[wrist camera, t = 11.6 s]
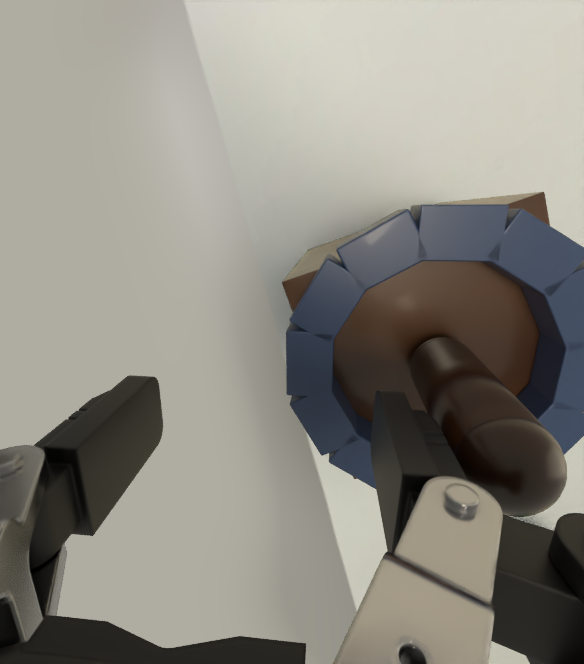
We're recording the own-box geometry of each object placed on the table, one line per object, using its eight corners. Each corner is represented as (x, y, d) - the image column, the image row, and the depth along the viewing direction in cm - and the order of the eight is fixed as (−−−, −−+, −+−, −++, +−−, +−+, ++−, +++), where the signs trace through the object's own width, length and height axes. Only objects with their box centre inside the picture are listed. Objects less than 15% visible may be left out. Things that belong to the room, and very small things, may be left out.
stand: (308, 250, 28) (224, 350, 8) (440, 202, 26) (831, 161, 5) (347, 365, 31) (365, 679, 10) (471, 330, 29) (819, 636, 8)
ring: (241, 298, 16) (229, 309, 14) (521, 139, 13) (549, 128, 11) (367, 504, 18) (370, 534, 16) (627, 410, 15) (663, 435, 13)
